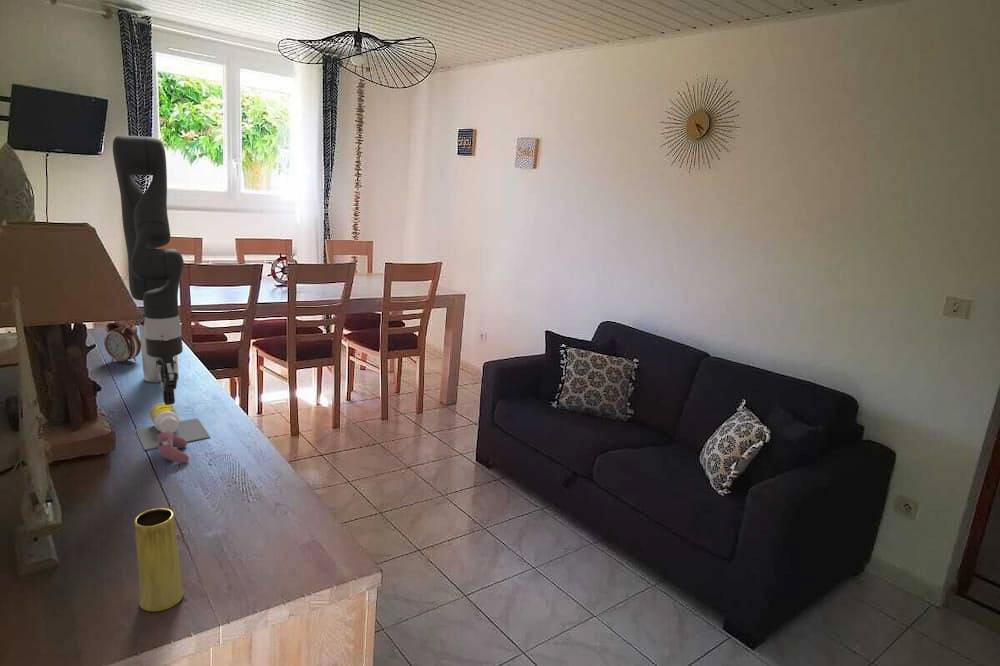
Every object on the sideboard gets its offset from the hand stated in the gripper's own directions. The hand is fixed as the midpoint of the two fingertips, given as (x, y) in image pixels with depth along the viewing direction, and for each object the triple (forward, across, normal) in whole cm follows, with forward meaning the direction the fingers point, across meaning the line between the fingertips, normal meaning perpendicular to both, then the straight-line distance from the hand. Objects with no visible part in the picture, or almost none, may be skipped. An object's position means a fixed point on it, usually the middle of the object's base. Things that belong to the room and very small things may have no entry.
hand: (169, 403), depth 151 cm
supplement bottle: (+4, -7, -1) cm, 8 cm away
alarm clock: (+8, -64, -2) cm, 64 cm away
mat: (+8, +1, 0) cm, 8 cm away
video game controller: (+8, +14, -2) cm, 16 cm away
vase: (+8, +64, -13) cm, 65 cm away
